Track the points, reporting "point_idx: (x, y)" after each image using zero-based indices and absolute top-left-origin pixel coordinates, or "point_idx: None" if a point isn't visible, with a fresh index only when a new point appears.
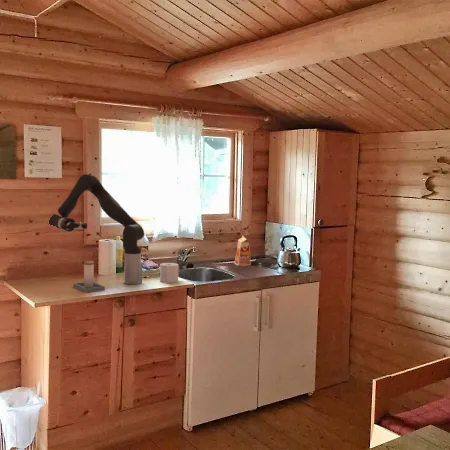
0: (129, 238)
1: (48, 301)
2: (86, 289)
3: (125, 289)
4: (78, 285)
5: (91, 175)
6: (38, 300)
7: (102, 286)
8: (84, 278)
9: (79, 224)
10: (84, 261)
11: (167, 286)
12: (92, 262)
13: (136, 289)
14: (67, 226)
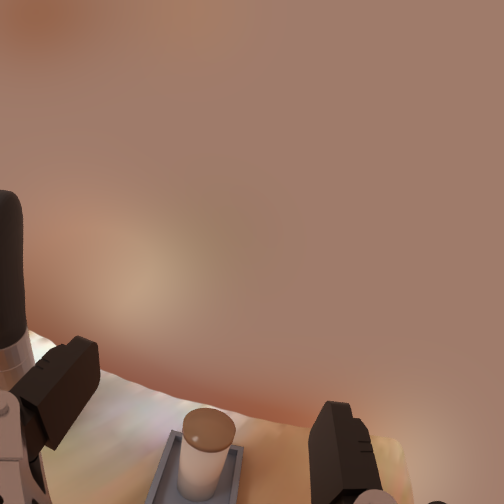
0: (19, 257)
1: (372, 435)
2: (242, 448)
3: (119, 398)
4: (236, 499)
5: None
6: (392, 453)
7: (176, 434)
8: (220, 474)
9: (32, 484)
10: (225, 442)
11: (33, 336)
12: (205, 408)
13: (100, 377)
14: (373, 481)
